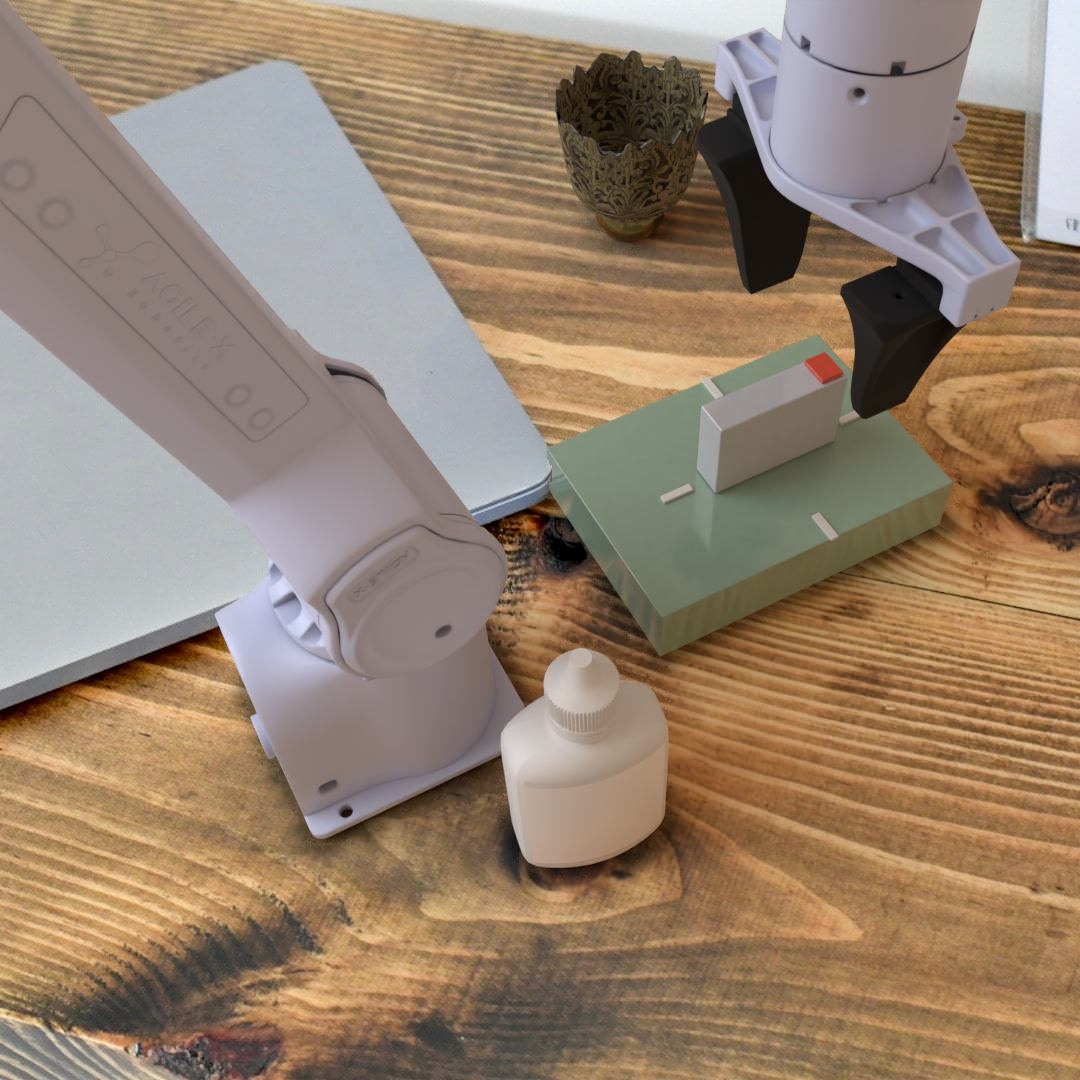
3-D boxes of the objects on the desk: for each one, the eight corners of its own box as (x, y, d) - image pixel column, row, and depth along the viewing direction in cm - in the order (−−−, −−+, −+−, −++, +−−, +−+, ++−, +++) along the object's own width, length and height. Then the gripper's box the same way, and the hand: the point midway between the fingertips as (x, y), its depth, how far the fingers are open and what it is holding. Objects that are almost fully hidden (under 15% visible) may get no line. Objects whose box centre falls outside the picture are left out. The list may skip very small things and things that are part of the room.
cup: (538, 252, 68) (530, 123, 62) (588, 167, 72) (585, 37, 66) (674, 284, 66) (680, 154, 60) (718, 195, 70) (727, 64, 64)
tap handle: (715, 494, 55) (721, 427, 51) (695, 468, 55) (700, 401, 52) (835, 441, 56) (849, 372, 53) (814, 416, 57) (827, 347, 53)
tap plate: (661, 659, 53) (663, 617, 51) (547, 488, 59) (544, 443, 57) (941, 526, 57) (956, 481, 54) (808, 377, 62) (816, 329, 60)
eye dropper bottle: (653, 889, 48) (662, 734, 38) (503, 864, 49) (475, 706, 39) (670, 782, 50) (682, 610, 41) (527, 759, 51) (505, 586, 41)
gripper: (1148, 105, 37) (1026, 425, 48) (849, -117, 45) (803, 201, 56) (943, 187, 35) (865, 498, 46) (671, -59, 43) (659, 257, 54)
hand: (821, 340), depth 51 cm, fingers open, 7 cm apart
